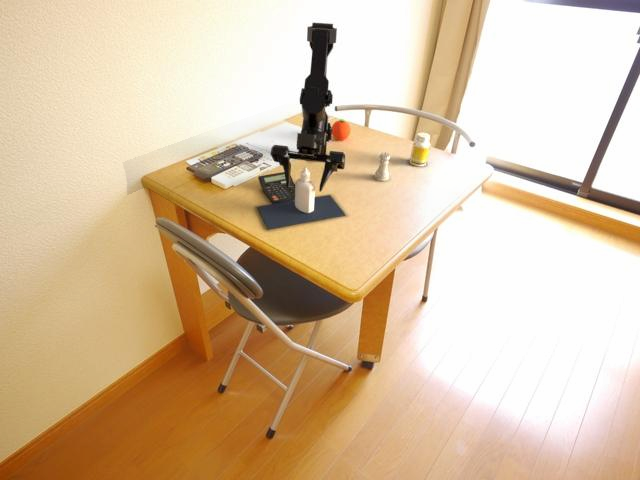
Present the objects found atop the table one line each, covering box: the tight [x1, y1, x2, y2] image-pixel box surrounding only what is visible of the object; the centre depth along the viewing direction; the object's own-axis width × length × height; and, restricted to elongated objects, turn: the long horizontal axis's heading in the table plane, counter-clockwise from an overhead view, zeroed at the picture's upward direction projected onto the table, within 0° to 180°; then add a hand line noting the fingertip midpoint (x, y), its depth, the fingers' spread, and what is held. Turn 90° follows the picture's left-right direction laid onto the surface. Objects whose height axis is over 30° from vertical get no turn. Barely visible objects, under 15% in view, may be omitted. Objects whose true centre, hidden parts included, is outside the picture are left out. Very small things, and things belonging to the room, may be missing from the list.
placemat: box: [256, 194, 346, 230], centre depth 107 cm, size 21×10×1 cm, turn 112°
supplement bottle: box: [409, 132, 431, 167], centre depth 132 cm, size 5×5×10 cm
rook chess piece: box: [374, 152, 391, 182], centre depth 122 cm, size 4×4×8 cm
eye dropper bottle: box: [294, 166, 316, 213], centre depth 104 cm, size 4×6×12 cm
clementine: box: [331, 119, 351, 141], centre depth 145 cm, size 8×7×7 cm
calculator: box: [257, 171, 295, 204], centre depth 114 cm, size 9×12×3 cm
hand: (303, 189), depth 103 cm, fingers open, 8 cm apart
